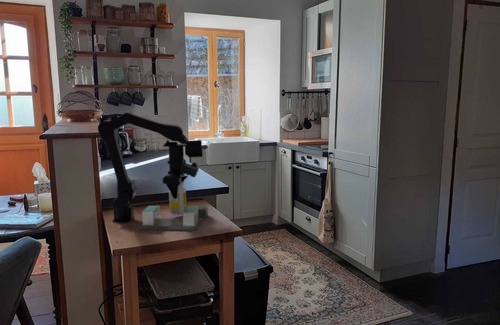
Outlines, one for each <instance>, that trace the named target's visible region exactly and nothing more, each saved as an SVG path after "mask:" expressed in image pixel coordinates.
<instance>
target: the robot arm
mask: <svg viewBox="0 0 500 325" xmlns="http://www.w3.org/2000/svg"><path fill="white" fill-rule="evenodd" d="M128 124H129V125H132V126H136V127H138V128H141V129H143V130H147V131H148V130H149V131H151V132H154V133H157V134H159V135H161V136H163V137H164V138H166V139H167V140H166V142H165V143H163V147H165V148H168V160H167V164H168V168H169V169H168V171H167V173H166V175H165V176H164V177H162V184H164V185H165V186H166V187H167V189H168V191H169V190H170V192H171V194H172V196H173V198H174V199H177V194H178V186H179V185H180V184H181V183H182V182H183V184H184V182H185V180H186V179H187V178H188V177H189V176H190V177H192V178H195V177H196V176H197V174H198V172H199V168H200V167H199V166H198V163H197V162H192V163H187V161H186V158H185V156H187V157H188V158H203V147H202V146H203V143H202V139H197V140H189V139H188V138H187V137H186V136H185V134H184V130H183V128H182V127H181V126H180V125H178V124H171V123H164V122H163V123H162V122H159V121H155V120H152V119H150V118H146V117H143V116H140V115H136V114H135V113H134V114H133V112H130V111H129V112H124V113H123V114H122V115H120V116H118V117H115V118H112V119H106V120H103V121H101V122H100V123H99V124H98V126H97V132H98V133H99V134H98V135H100V137H101V139H102V141H103V143H104V144H105V145H106V148H107V151H108V154H109V158H110V160H111V164H112V168H113V170H114V174H115V177H116V182H117V183H116V191H117V192H116V193H117V196H116V197H115V198H114V200H113V201H112V206H113V219H112V222H115V223H128V222H130V221H131V220H132V219H133V218H134V217H135V215H134V207H133V206H132V205H133V204H132V203H130V202H131V201H133V199H134V198H135V196H136V194H137V190H138V188H137V186H136V181H135V179H132V180H131V178H130V177H129V175H128V171H127V169H126V164H125V162H124V158H123V154H122V150H121V148H120V145H119V130H118V129H120V128H122V127H124V126H125V125H128ZM184 154H185V156H184ZM184 158H185V159H184ZM181 181H182V182H181Z"/></svg>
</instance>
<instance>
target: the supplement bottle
mask: <svg viewBox="0 0 500 325" xmlns="http://www.w3.org/2000/svg"><path fill="white" fill-rule="evenodd" d="M181 182H182V181H181ZM168 198H169V199H168V201H169V213H170V214H171V215H172V216H183V211H184V210H185V209H186V208H187V190H186V188H185V187H184V183H183V182H182V183H181V184H180V185H179V186H178V194H177V199H174V198H173V196H172V194H171V192H170V190H169V189H168Z"/></svg>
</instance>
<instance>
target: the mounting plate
mask: <svg viewBox="0 0 500 325" xmlns="http://www.w3.org/2000/svg"><path fill="white" fill-rule="evenodd" d="M141 213H142V224H141V227H140V229H141V230H144V231H145V230H153V231H157V230H158V231H187V232H188V231H193V232H195V231H196V230H197V229H198V226H199V225H200V223H201V219H198V207H195V206H186V209H185V210H184V211H183V215H182V217H181V218H177V217H176V218H175V217H161V206H160V205H148V206H147V207H146V208H144V209H143V210H142V211H141Z"/></svg>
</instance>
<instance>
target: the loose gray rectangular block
mask: <svg viewBox="0 0 500 325" xmlns="http://www.w3.org/2000/svg"><path fill="white" fill-rule="evenodd" d="M194 207H198V219H200V220H207V218H208V216H209V215H208V214H209V211H208V210H209V206H194Z"/></svg>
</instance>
